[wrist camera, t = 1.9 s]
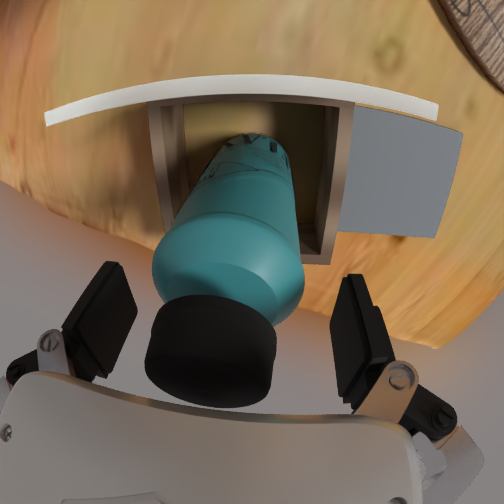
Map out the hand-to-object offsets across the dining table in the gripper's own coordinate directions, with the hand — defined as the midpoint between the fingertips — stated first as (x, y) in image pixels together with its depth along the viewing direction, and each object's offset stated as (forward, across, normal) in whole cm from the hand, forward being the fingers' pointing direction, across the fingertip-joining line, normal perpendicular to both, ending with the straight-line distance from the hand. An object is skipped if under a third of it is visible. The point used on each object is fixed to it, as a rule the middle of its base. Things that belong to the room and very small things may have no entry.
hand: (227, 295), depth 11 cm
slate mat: (+15, -14, -1) cm, 21 cm away
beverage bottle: (+16, 0, -1) cm, 16 cm away
